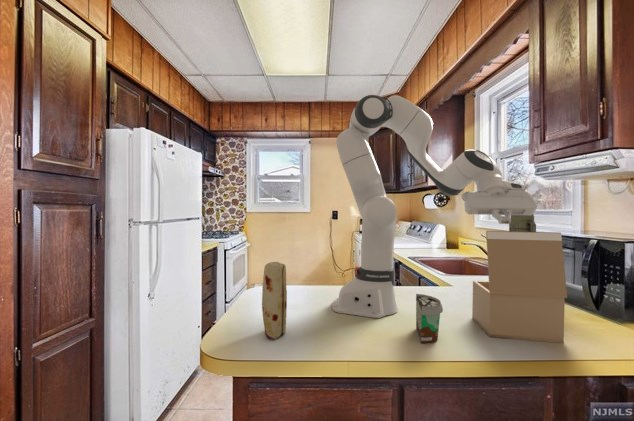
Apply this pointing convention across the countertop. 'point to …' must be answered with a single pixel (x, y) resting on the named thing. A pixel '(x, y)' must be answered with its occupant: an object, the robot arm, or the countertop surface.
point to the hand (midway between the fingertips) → (505, 222)
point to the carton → (518, 315)
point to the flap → (526, 263)
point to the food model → (274, 299)
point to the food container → (427, 318)
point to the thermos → (522, 223)
